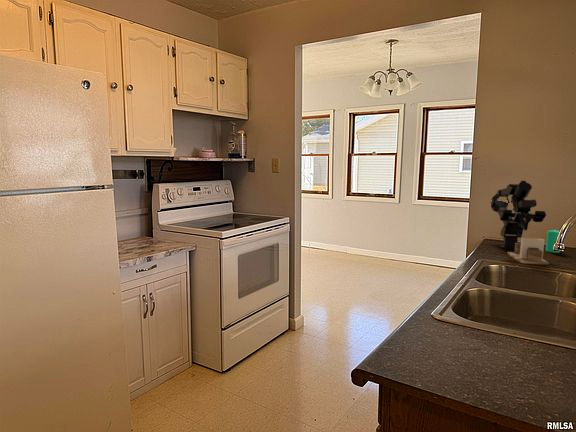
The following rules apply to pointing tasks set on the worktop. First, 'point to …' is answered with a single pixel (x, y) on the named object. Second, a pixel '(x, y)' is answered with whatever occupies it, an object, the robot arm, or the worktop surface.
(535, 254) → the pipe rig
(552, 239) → the candle
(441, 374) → the worktop surface
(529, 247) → the sleeve
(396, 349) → the worktop surface
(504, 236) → the robot arm
